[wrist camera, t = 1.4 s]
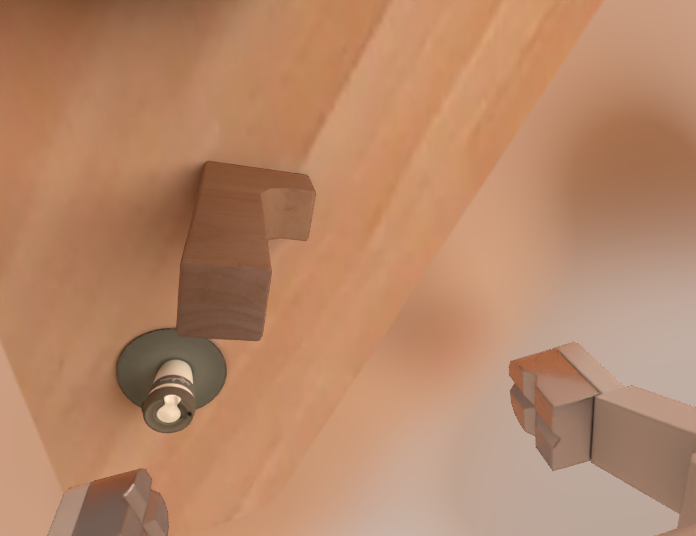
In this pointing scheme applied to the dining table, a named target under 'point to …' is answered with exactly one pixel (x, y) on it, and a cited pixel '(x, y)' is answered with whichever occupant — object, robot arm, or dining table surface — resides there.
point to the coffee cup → (170, 377)
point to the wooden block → (237, 248)
